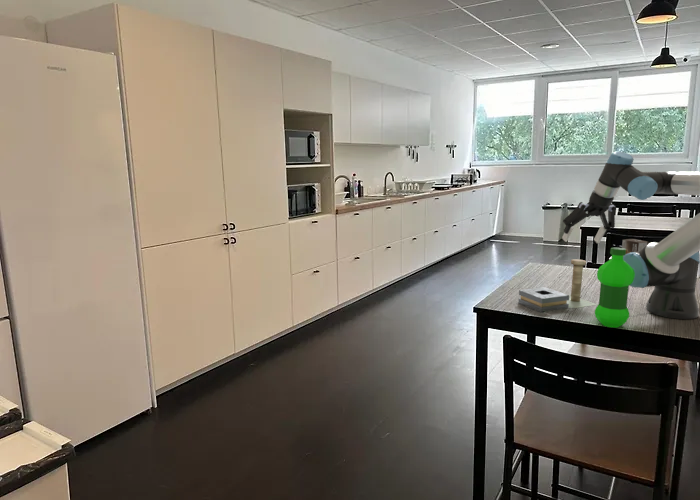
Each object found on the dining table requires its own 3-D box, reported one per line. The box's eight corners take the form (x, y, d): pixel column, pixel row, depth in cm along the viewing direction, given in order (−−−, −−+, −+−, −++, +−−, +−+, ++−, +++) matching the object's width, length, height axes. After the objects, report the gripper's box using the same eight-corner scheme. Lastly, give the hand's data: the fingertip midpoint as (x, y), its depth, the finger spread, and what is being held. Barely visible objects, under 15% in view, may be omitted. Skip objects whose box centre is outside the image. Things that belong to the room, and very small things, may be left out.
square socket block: (568, 308, 172) (569, 295, 171) (541, 312, 168) (542, 298, 167) (544, 299, 183) (545, 286, 182) (518, 303, 179) (519, 290, 178)
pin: (585, 301, 179) (589, 261, 176) (575, 303, 178) (578, 262, 175) (575, 298, 184) (578, 259, 181) (564, 299, 182) (568, 260, 179)
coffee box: (646, 276, 217) (650, 241, 214) (635, 278, 216) (639, 242, 213) (629, 272, 226) (632, 238, 223) (618, 273, 224) (622, 239, 221)
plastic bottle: (617, 319, 161) (625, 245, 156) (635, 330, 150) (644, 251, 146) (587, 319, 161) (594, 245, 156) (602, 330, 151) (610, 251, 146)
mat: (598, 305, 176) (598, 304, 176) (572, 309, 172) (572, 308, 172) (569, 295, 189) (569, 294, 189) (544, 298, 185) (544, 297, 185)
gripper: (629, 190, 181) (604, 236, 193) (567, 186, 177) (546, 233, 189) (640, 200, 175) (614, 247, 187) (577, 196, 171) (555, 244, 183)
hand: (580, 240), depth 188 cm, fingers open, 13 cm apart
